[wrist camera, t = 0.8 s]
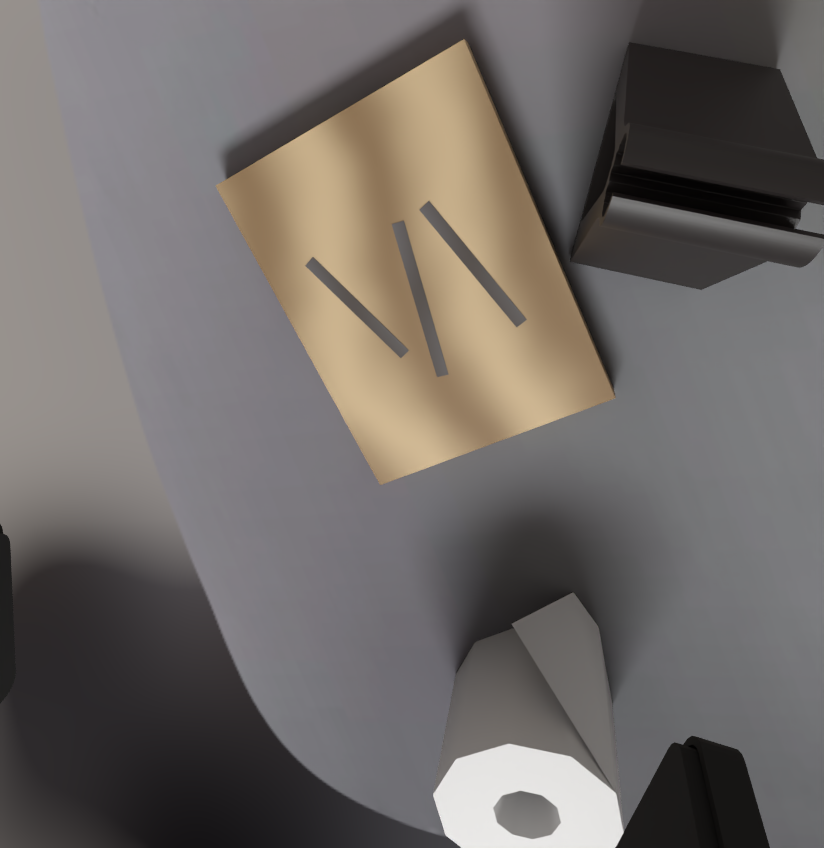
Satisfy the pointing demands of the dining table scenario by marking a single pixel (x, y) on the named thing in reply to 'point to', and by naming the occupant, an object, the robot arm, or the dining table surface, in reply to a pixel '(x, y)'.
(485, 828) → the toilet tissue
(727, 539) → the dining table surface
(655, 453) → the dining table surface
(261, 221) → the marked board
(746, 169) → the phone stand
